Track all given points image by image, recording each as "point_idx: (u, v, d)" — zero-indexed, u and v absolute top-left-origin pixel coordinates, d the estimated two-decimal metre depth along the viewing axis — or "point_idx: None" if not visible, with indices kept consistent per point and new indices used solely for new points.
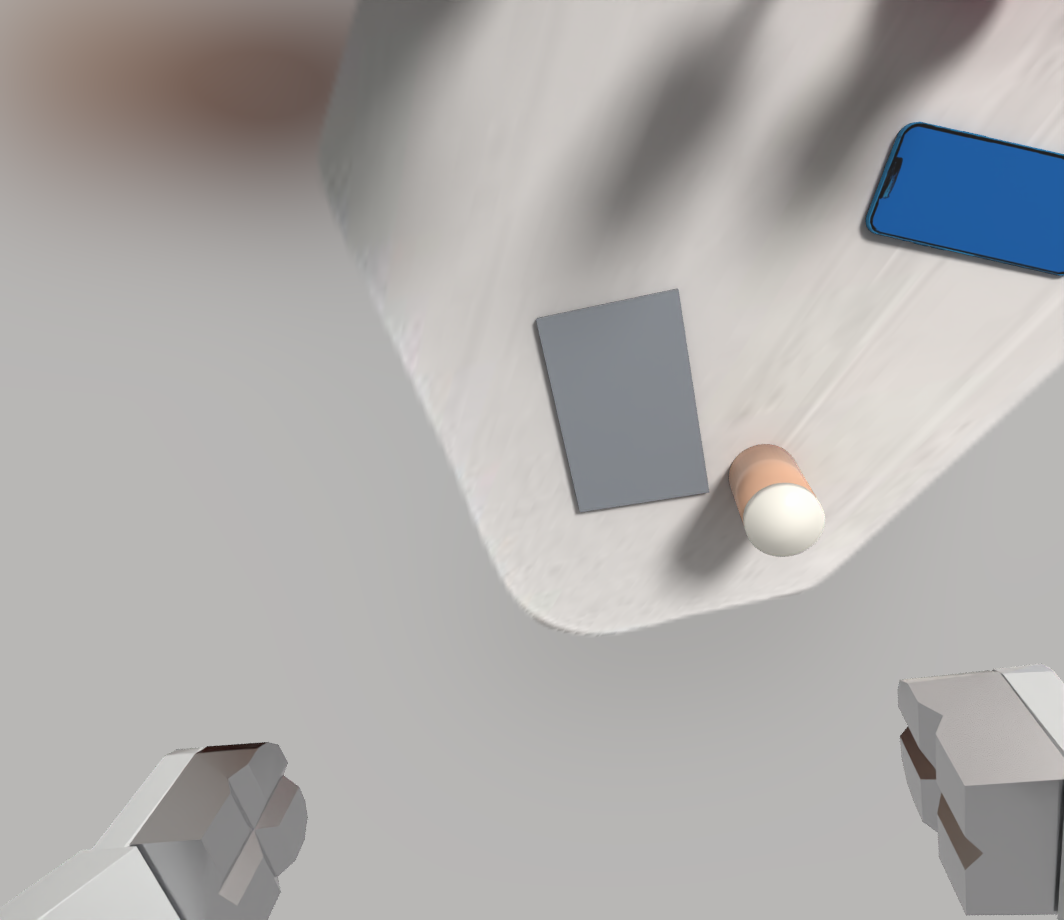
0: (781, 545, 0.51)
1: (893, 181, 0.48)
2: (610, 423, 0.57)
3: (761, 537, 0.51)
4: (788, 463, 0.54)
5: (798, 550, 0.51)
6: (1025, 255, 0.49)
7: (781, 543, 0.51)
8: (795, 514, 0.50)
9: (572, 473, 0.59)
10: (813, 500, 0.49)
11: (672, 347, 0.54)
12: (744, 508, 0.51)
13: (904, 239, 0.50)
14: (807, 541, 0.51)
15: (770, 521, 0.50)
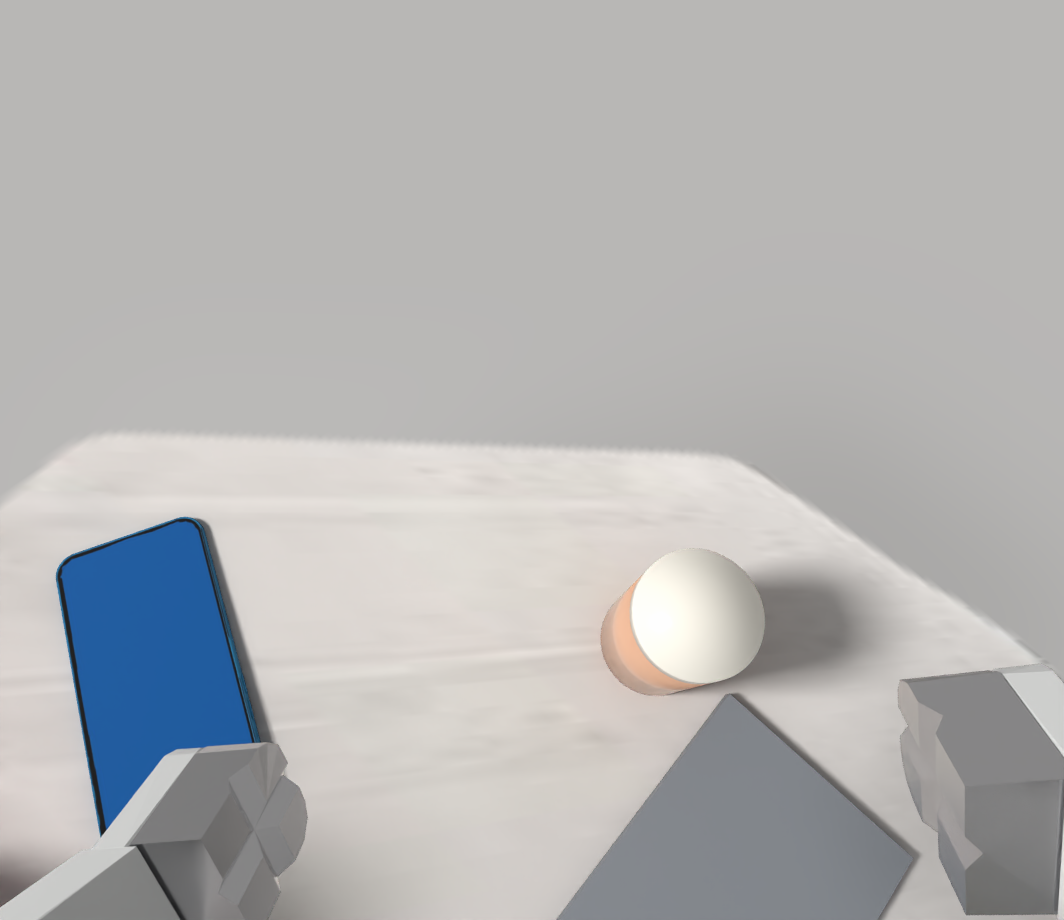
0: (732, 588, 0.30)
1: None
2: None
3: (745, 625, 0.29)
4: (614, 644, 0.33)
5: (718, 560, 0.30)
6: (198, 580, 0.36)
7: (730, 591, 0.30)
8: (676, 609, 0.29)
9: None
10: (639, 604, 0.29)
11: None
12: None
13: (254, 735, 0.33)
14: (698, 560, 0.30)
15: (713, 634, 0.29)
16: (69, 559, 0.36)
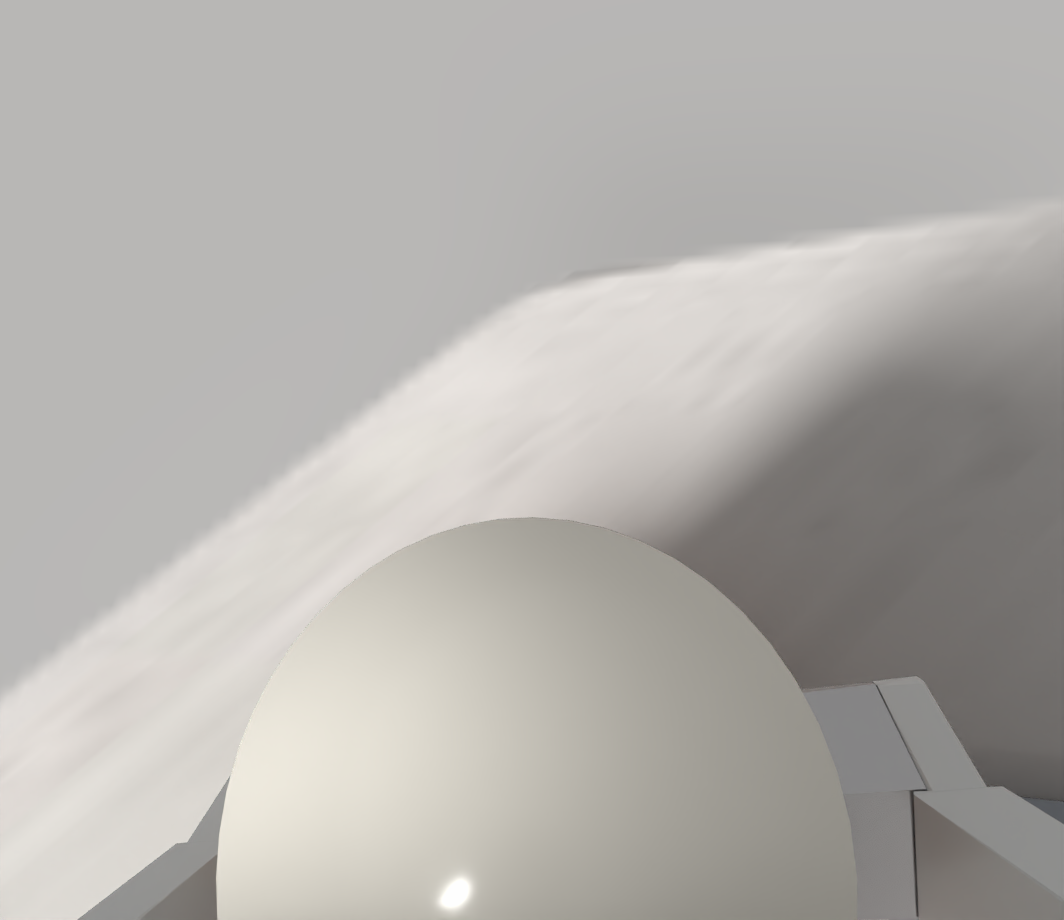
0: (565, 620, 0.06)
1: None
2: None
3: (713, 737, 0.06)
4: None
5: (456, 554, 0.07)
6: None
7: (564, 637, 0.06)
8: (406, 892, 0.06)
9: None
10: None
11: None
12: None
13: None
14: (385, 613, 0.07)
15: (614, 888, 0.06)
16: None
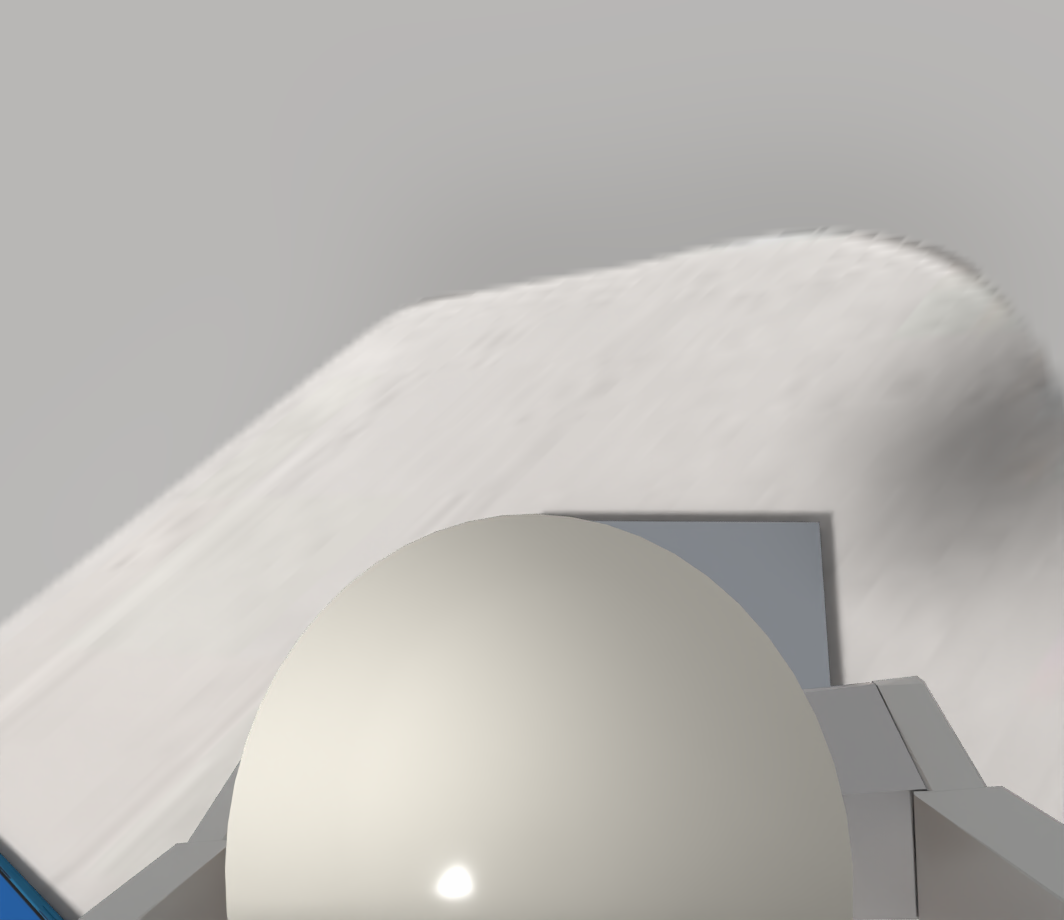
0: (567, 614, 0.07)
1: None
2: None
3: (712, 729, 0.06)
4: None
5: (459, 551, 0.07)
6: None
7: (566, 630, 0.07)
8: (412, 880, 0.06)
9: (822, 625, 0.24)
10: None
11: None
12: None
13: None
14: (390, 608, 0.07)
15: (615, 875, 0.06)
16: None
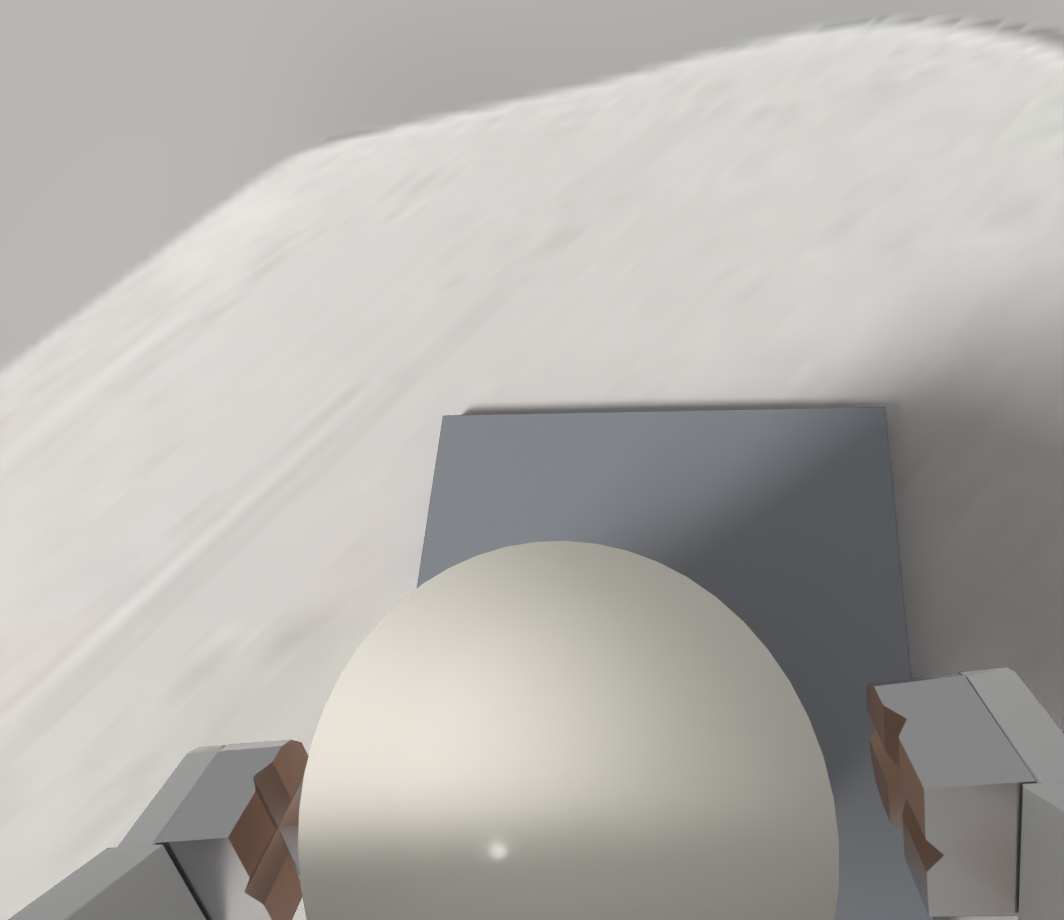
0: (594, 629, 0.08)
1: None
2: None
3: (720, 728, 0.07)
4: None
5: (499, 572, 0.08)
6: None
7: (594, 643, 0.08)
8: (463, 857, 0.07)
9: (893, 563, 0.15)
10: None
11: None
12: None
13: None
14: (438, 623, 0.08)
15: (638, 853, 0.07)
16: None
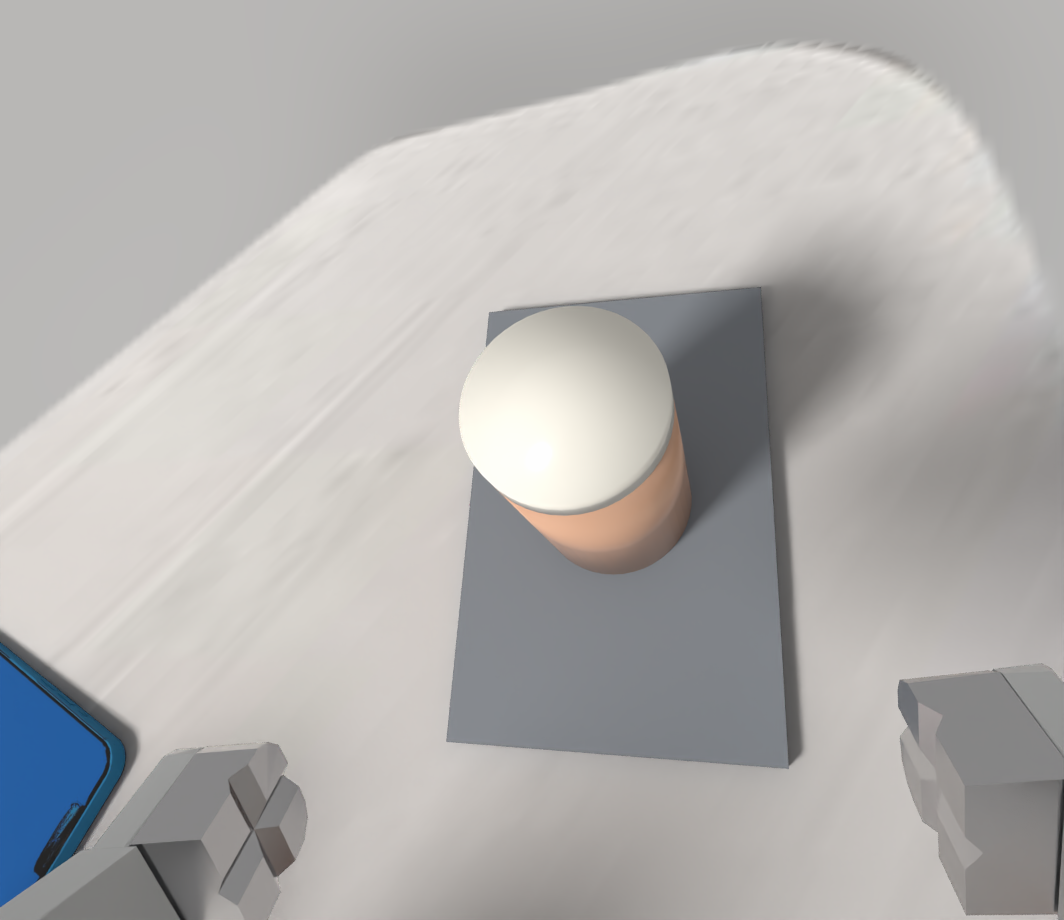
0: (578, 337, 0.18)
1: (57, 830, 0.26)
2: None
3: (628, 363, 0.18)
4: (547, 537, 0.22)
5: (536, 322, 0.19)
6: None
7: (578, 342, 0.18)
8: (529, 422, 0.18)
9: (762, 373, 0.26)
10: (478, 458, 0.18)
11: (487, 616, 0.25)
12: (666, 451, 0.18)
13: (78, 716, 0.28)
14: (511, 344, 0.19)
15: (597, 409, 0.17)
16: None
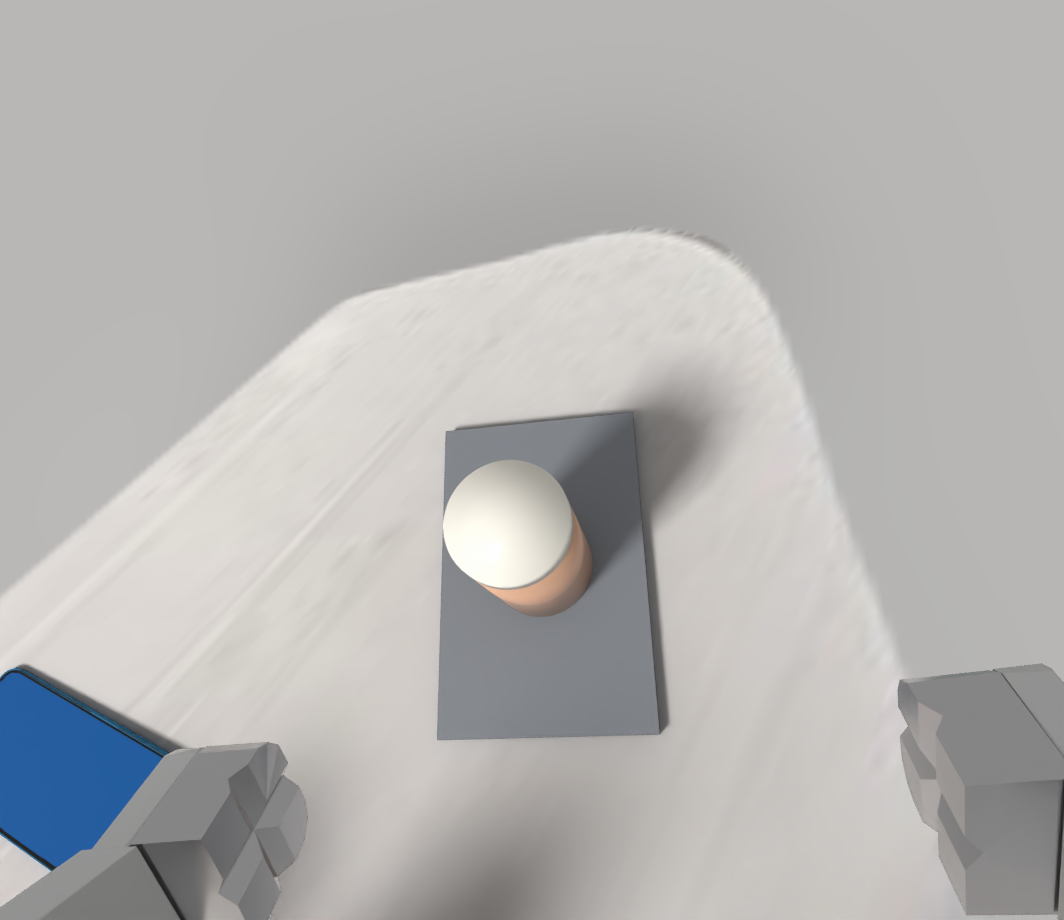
0: (513, 480, 0.30)
1: None
2: None
3: (544, 496, 0.30)
4: (499, 598, 0.34)
5: (487, 470, 0.31)
6: (43, 700, 0.40)
7: (513, 483, 0.30)
8: (487, 535, 0.30)
9: (635, 473, 0.38)
10: (458, 559, 0.29)
11: (459, 651, 0.37)
12: (569, 546, 0.30)
13: (155, 749, 0.38)
14: (472, 485, 0.31)
15: (527, 525, 0.29)
16: None
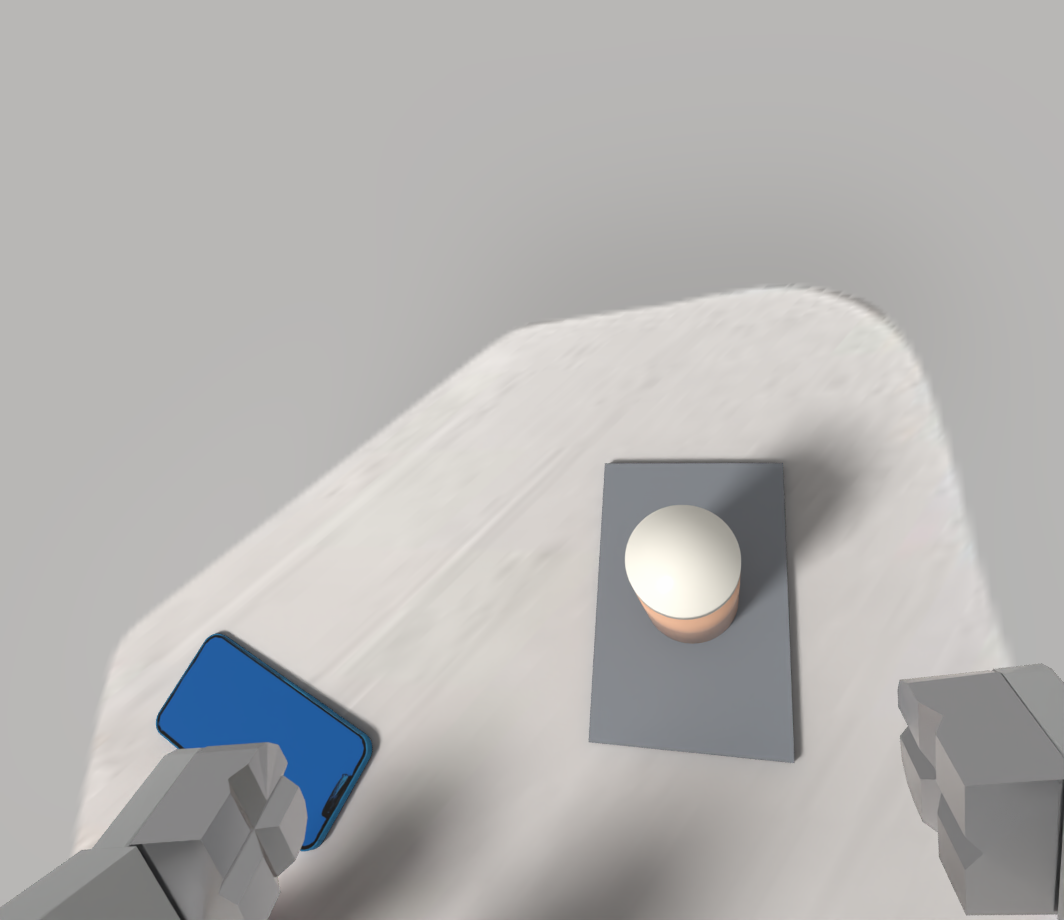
0: (689, 523, 0.34)
1: (335, 790, 0.42)
2: None
3: (717, 540, 0.34)
4: (659, 624, 0.38)
5: (665, 512, 0.35)
6: (242, 664, 0.47)
7: (689, 526, 0.34)
8: (665, 570, 0.34)
9: (782, 520, 0.42)
10: (638, 589, 0.34)
11: (611, 666, 0.41)
12: (737, 586, 0.34)
13: (339, 718, 0.44)
14: (651, 524, 0.35)
15: (702, 564, 0.34)
16: (158, 716, 0.47)
